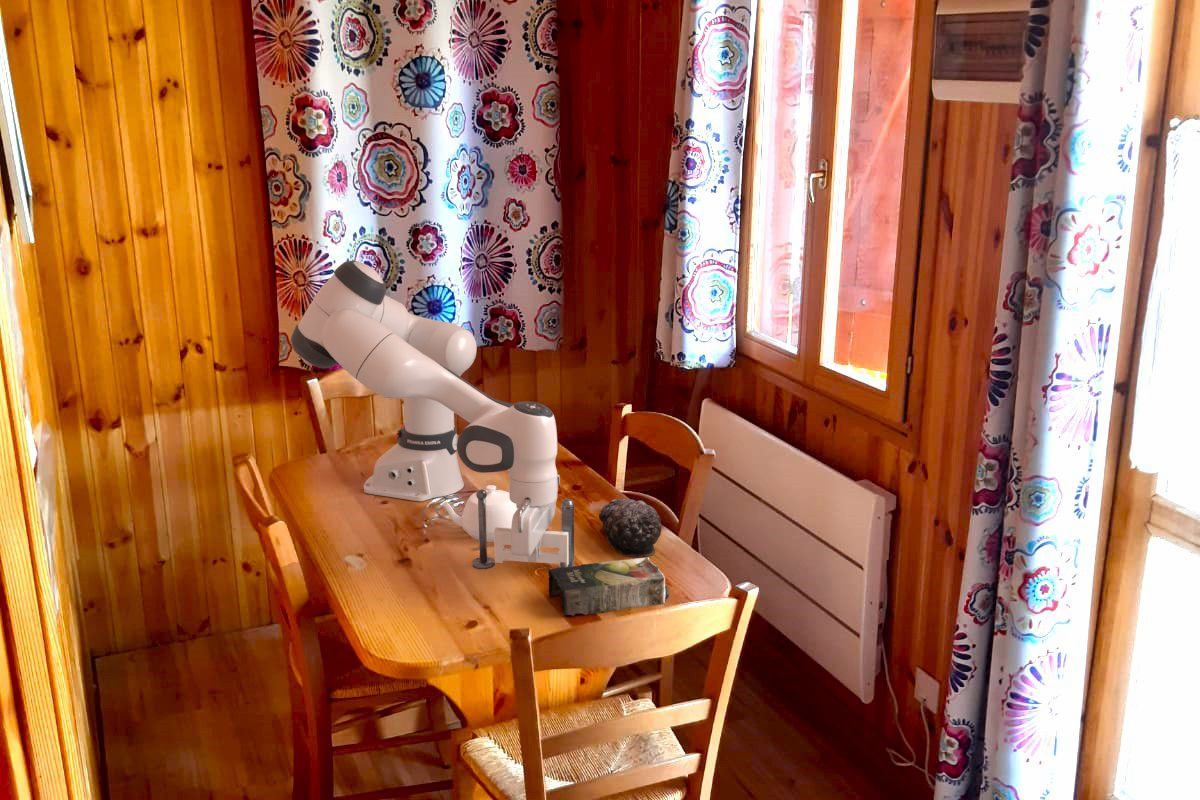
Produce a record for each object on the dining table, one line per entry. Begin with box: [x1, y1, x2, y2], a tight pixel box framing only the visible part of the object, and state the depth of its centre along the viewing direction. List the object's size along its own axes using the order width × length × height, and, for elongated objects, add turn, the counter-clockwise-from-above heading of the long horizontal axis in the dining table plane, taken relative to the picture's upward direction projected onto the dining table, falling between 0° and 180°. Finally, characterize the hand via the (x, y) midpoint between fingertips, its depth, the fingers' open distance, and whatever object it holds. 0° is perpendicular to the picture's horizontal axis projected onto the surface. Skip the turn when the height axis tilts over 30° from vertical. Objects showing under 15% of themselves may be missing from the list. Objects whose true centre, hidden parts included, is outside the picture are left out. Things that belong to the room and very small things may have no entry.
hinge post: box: [471, 488, 496, 570], centre depth 207 cm, size 4×4×15 cm
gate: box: [493, 527, 569, 568], centre depth 206 cm, size 14×2×7 cm, turn 82°
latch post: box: [560, 498, 575, 567], centre depth 207 cm, size 2×2×14 cm
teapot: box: [439, 484, 517, 543], centre depth 222 cm, size 20×12×10 cm, turn 110°
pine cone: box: [598, 498, 662, 558], centre depth 217 cm, size 10×18×10 cm, turn 29°
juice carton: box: [547, 557, 670, 618], centre depth 194 cm, size 20×10×6 cm, turn 108°
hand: (533, 559), depth 204 cm, fingers closed
